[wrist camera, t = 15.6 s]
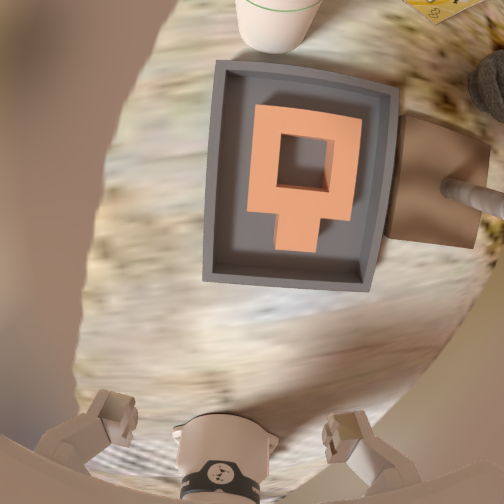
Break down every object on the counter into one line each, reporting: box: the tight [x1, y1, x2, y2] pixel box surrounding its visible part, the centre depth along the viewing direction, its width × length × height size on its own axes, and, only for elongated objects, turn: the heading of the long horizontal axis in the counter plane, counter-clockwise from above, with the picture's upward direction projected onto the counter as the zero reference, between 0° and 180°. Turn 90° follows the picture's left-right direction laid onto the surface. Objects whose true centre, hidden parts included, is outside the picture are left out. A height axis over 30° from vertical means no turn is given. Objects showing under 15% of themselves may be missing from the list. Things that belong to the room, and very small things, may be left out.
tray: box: [202, 60, 400, 292], centre depth 28 cm, size 22×18×4 cm
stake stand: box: [384, 115, 504, 249], centre depth 23 cm, size 14×14×14 cm
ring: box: [247, 104, 362, 253], centre depth 28 cm, size 14×10×3 cm
